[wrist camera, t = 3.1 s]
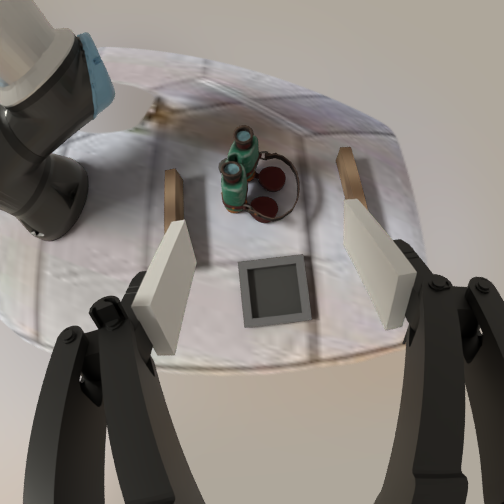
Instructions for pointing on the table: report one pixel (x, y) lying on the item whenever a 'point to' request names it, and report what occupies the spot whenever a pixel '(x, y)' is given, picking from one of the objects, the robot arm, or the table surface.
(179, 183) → the channel
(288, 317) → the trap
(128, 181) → the table surface
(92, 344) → the robot arm
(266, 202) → the binoculars
